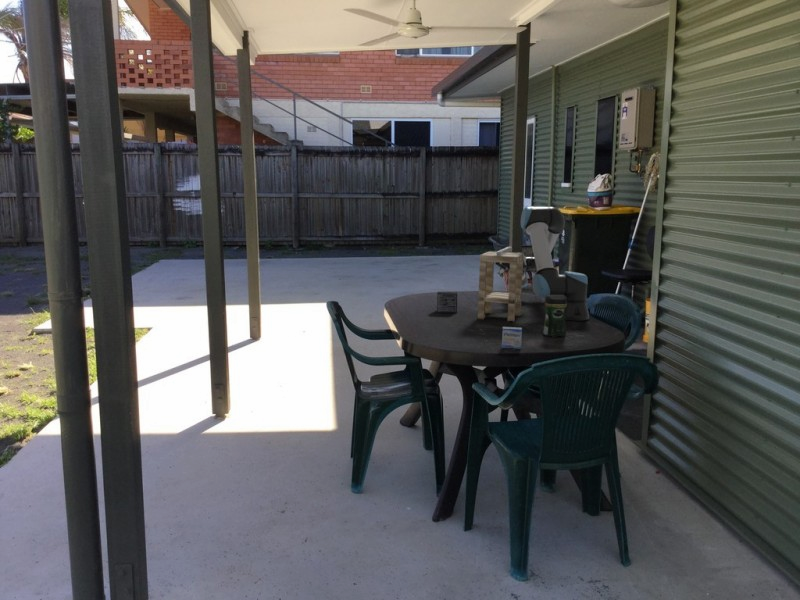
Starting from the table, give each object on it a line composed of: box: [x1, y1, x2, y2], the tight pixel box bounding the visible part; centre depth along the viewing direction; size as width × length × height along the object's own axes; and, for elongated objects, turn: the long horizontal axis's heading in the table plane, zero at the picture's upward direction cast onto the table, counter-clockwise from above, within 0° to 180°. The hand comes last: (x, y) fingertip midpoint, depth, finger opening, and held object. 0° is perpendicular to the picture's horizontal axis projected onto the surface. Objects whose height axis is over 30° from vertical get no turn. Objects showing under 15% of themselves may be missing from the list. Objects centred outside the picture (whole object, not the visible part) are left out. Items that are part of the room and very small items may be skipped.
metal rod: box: [496, 246, 513, 256], centre depth 336 cm, size 26×2×2 cm, turn 159°
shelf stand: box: [477, 251, 525, 323], centre depth 335 cm, size 18×18×32 cm
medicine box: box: [501, 326, 523, 350], centre depth 276 cm, size 8×4×9 cm, turn 81°
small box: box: [436, 291, 458, 314], centre depth 348 cm, size 11×6×10 cm, turn 84°
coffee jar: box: [542, 295, 567, 338], centre depth 298 cm, size 10×8×19 cm
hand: (511, 257), depth 354 cm, fingers open, 13 cm apart
